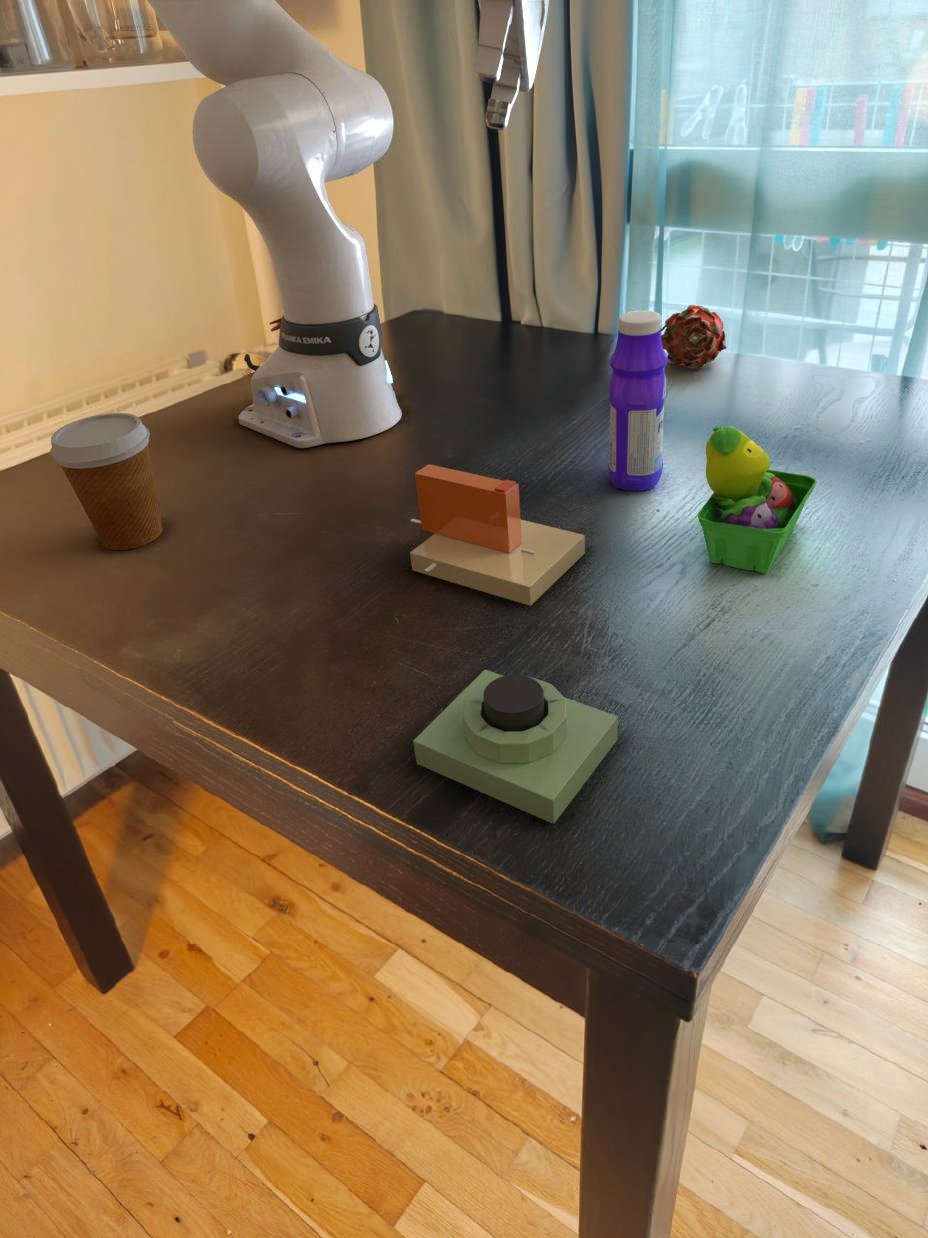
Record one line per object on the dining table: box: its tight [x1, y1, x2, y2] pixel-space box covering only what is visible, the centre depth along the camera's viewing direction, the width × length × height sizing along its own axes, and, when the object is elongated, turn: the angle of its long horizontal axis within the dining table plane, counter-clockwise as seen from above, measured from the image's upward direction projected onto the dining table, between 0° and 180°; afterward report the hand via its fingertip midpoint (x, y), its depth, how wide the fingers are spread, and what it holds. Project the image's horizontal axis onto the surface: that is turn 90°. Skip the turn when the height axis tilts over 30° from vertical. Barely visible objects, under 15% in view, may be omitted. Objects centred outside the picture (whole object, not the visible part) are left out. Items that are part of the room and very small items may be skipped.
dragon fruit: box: [661, 304, 727, 370], centre depth 120 cm, size 8×8×12 cm
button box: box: [412, 669, 619, 825], centre depth 60 cm, size 11×9×4 cm
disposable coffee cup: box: [49, 412, 163, 551], centre depth 90 cm, size 10×10×12 cm
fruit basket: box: [697, 425, 818, 575], centre depth 78 cm, size 11×9×11 cm
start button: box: [483, 674, 544, 732], centre depth 58 cm, size 4×4×2 cm
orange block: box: [414, 463, 522, 553], centre depth 81 cm, size 10×2×6 cm, turn 55°
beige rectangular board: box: [409, 518, 586, 606], centre depth 83 cm, size 17×14×2 cm
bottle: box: [608, 309, 669, 491], centre depth 89 cm, size 7×6×17 cm
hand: (490, 103), depth 69 cm, fingers open, 8 cm apart
